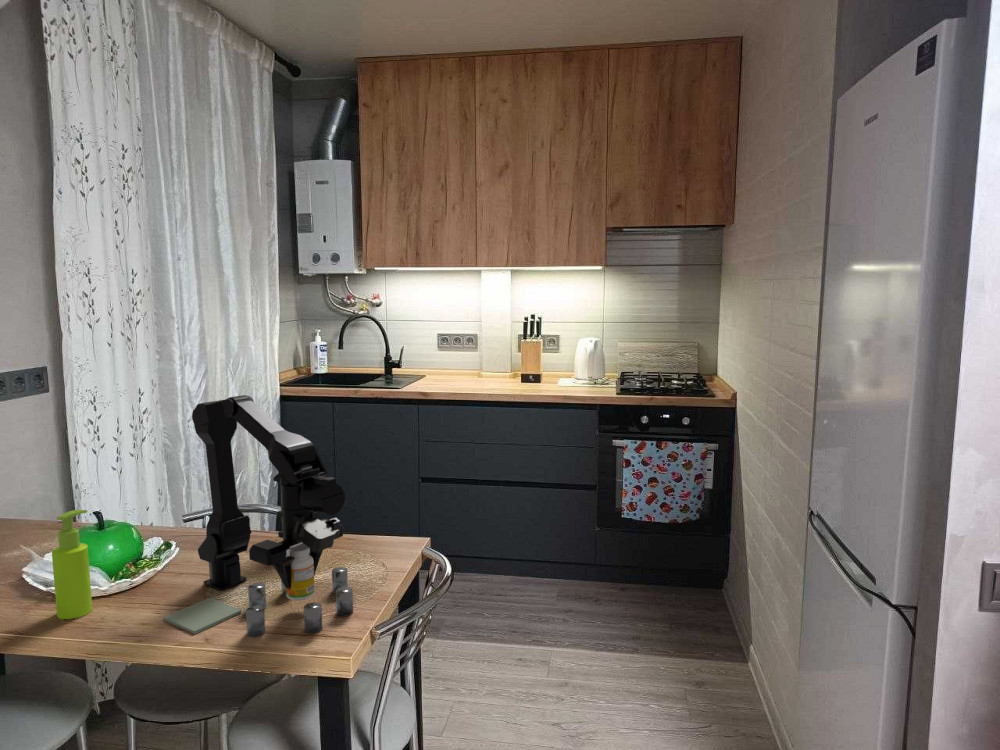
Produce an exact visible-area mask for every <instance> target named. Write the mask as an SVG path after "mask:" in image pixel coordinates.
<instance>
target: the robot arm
mask: <svg viewBox="0 0 1000 750" xmlns="http://www.w3.org/2000/svg"><path fill="white" fill-rule="evenodd" d="M191 419H192V420H191V421H192V423H193V426H194V430H195V434H196V435H197V436H198V437H199V439H200V440H201V441H202V442H203V443H204V445H205V453H206V462H207V463H206V464H207V470H208V478H209V479H208V481H209V489H210V495H211V496H210V497H211V498H210V499H211V507H212V513H211V515H210V517H209V519H208V521H207V523H206V527H205V528H206V529H205V530H206V531H205V533H206V537H205V539H204V540H203V541H202V543H201V544H200V546H199V547H198V548H197V553H198V557H199V559H200V560H202V561H204V562H208V569H209V571H208V572H209V578H208V579H206V580H204V581H203V583H202V584H203V585H206V586H208V587H210V588H212V589H213V588H214V589H215V590H218V591H224V590H226V589H229V588H232V587H233V586H237V585H238V584H241V583H243V582H246V581H247V577H246V576H243V575H242V572H241V571H242V569H241V563H240V555H239V554H241V553H244V552H247V551H248V552H249V553H248V554H249V555H248V556H249V560H250V561H253V562H254V563H255V562H256V563H258V564H262V565H264V566H273V568H274V569H275V571H276V573H277V574H278V576H279V578H280V581H281V580H282V582H283V584H284V585H285V587H286V588H288V589H289V588H291V563H292V562H293V560H294V559H295V557H292V556H290V549H291V548H293V547H296V546H298V545H301V544H305V545H306V546H308V547H309V548H310V553H309V555H310V556H311V557H312V558H313V561H314V576H315V575H316V571H317V568H318V566H319V562H320V559H321V556H322V554H323V552H324V550H327V549H330V548H332V547H333V546H334V542H335V540H336V539H337V540H338V539H340V538H342V537H344V526H343V525H342V524H341V520H340V519H338V518H337V517H333V518H330V519H328V518H322V519H320V518H319V517H320V516H319V513H320V514H322V515H323V514H324V515H328V516H335V515H336V514H338V513H339V512H340V511H341V510H342V508H343V507H344V504H345V500H346V493H345V491H344V489H343V488H342V486H341V485H339V484H338V483H337V478H336V477H334V476H328V471H327V468H326V464H325V463H324V462H323V461H322V458H321V457H320V455H319V454H318V451H317V449H316V446H315V445H314V444H313V442H312V441H310V440H309V439H307V438H305V437H304V436H303V435H301V434H298V433H293V432H290V431H288V430H287V429H284V428H283V427H282V426H281V425H280V424H279V423H278V422H276V421H275V420H274V419H273V418H272V417H271V416H270V415H269V414H267V413H266V412H265V410H263V409H262V408H261V407H259V405H257V404H256V403H255V401H254V399H253V397H252V396H250V395H246V394H244V395H243V394H242V395H235V396H230V397H227V398H225V399H220V400H214V401H213V400H212V401H207V402H206V401H205V402H200V403H197V405H196V406H195V408H194V409H193V410H192V413H191ZM238 424H239V425H241V427H243V429H244V430H246V431H247V432H248V434H249V435H251V436H252V437H253V438H254V439H256V440H257V441H258V442H259V443H260V444H261V445H262V446H263V447H264V448H265V449H266V450H267V455H268V456H267V457H268V460H269V462H270V463H271V464H272V466H273V467H274V468H275V469H276V470H277V472H278V473H277V474H276V475H275V476H273V478H272V480H273V481H274V482H277V483H280V499H281V500H280V504H281V503H282V510H281V509H280V510H277V511H276V512H277V517H278V518H281V524H282V525H281V526H282V527H281V528H282V530H280V531H278V533H277V535H278V536H277V537H278V538H281V539H282V540H281V541H279V542H278V541H273V540H270V539H264V540H263V541H260V542H257V543H254V544H252V546H251V547H248V546H249V544H250V539H251V534H252V530H251V524H250V521H251V520H250V517H249V515H247V514H246V515H245V514H244V513H243V512H242V511H241V510H240V508H239V506H238V496H237V486H236V477H235V468H234V458H233V451H232V450H233V449H232V440H233V437H234V435H235V433H236V432H237V429H238ZM304 470H305V471H304ZM297 471H300V473H295V472H297ZM327 476H328V477H327ZM248 548H249V550H248Z"/></svg>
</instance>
